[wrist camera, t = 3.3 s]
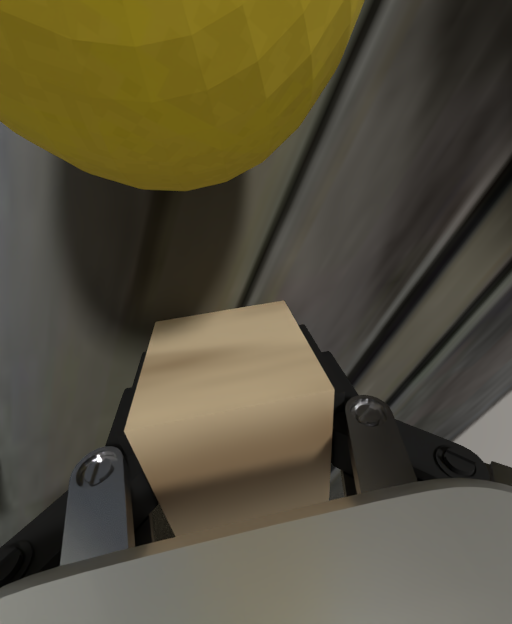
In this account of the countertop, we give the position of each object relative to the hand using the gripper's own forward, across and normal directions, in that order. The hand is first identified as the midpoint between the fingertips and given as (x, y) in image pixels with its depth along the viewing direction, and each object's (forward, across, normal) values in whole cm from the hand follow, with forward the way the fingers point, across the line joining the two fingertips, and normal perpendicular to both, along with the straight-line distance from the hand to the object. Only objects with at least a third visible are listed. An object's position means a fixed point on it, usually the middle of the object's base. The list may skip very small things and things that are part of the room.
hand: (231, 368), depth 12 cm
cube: (+1, 0, 0) cm, 1 cm away
